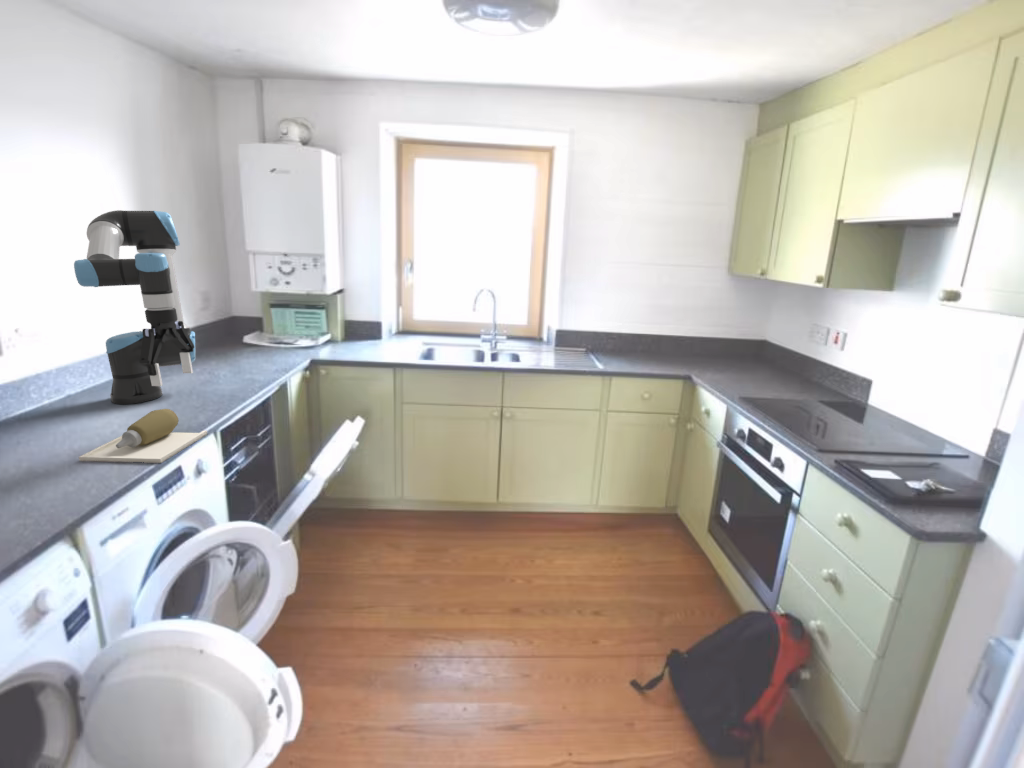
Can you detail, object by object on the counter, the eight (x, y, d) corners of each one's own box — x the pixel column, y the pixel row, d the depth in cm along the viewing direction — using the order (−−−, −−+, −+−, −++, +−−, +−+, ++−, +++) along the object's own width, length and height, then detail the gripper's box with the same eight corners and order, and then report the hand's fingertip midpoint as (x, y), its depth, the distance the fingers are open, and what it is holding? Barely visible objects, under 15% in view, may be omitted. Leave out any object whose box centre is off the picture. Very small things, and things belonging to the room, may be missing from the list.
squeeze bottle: (163, 399, 153) (109, 427, 136) (186, 416, 154) (135, 445, 137) (154, 418, 156) (100, 447, 140) (176, 434, 157) (126, 465, 140)
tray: (135, 432, 156) (135, 429, 155) (207, 434, 155) (206, 430, 154) (79, 461, 136) (78, 457, 136) (161, 463, 136) (160, 458, 135)
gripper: (176, 302, 162) (188, 368, 168) (113, 315, 138) (129, 391, 144) (200, 302, 161) (210, 368, 168) (140, 315, 138) (155, 392, 144)
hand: (173, 379), depth 156 cm, fingers open, 13 cm apart
